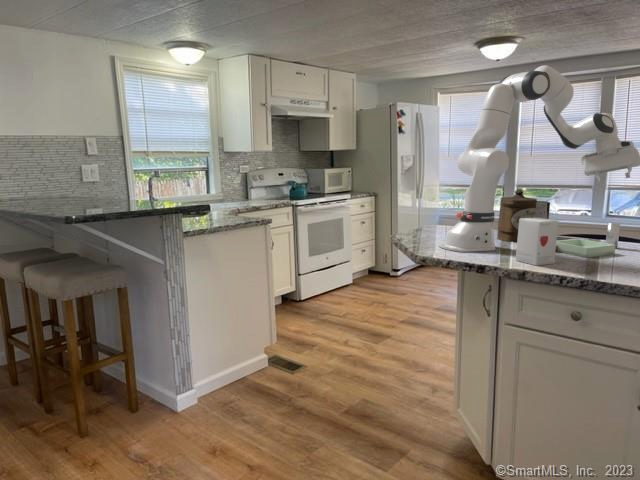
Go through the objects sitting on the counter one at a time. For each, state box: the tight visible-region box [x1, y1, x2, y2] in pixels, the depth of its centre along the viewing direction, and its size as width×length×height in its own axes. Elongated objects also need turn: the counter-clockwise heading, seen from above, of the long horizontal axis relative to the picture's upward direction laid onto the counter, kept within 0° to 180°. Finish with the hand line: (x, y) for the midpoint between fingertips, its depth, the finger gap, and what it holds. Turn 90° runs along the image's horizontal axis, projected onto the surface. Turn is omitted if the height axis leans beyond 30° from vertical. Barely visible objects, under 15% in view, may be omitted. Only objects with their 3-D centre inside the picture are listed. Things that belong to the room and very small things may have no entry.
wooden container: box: [497, 188, 538, 243], centre depth 204 cm, size 15×15×22 cm
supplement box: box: [515, 218, 559, 266], centre depth 160 cm, size 9×9×15 cm
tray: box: [556, 238, 616, 258], centre depth 179 cm, size 16×15×4 cm
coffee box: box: [536, 200, 551, 219], centre depth 213 cm, size 9×6×16 cm
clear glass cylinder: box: [605, 221, 621, 250], centre depth 187 cm, size 4×4×10 cm
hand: (614, 179), depth 191 cm, fingers open, 8 cm apart
